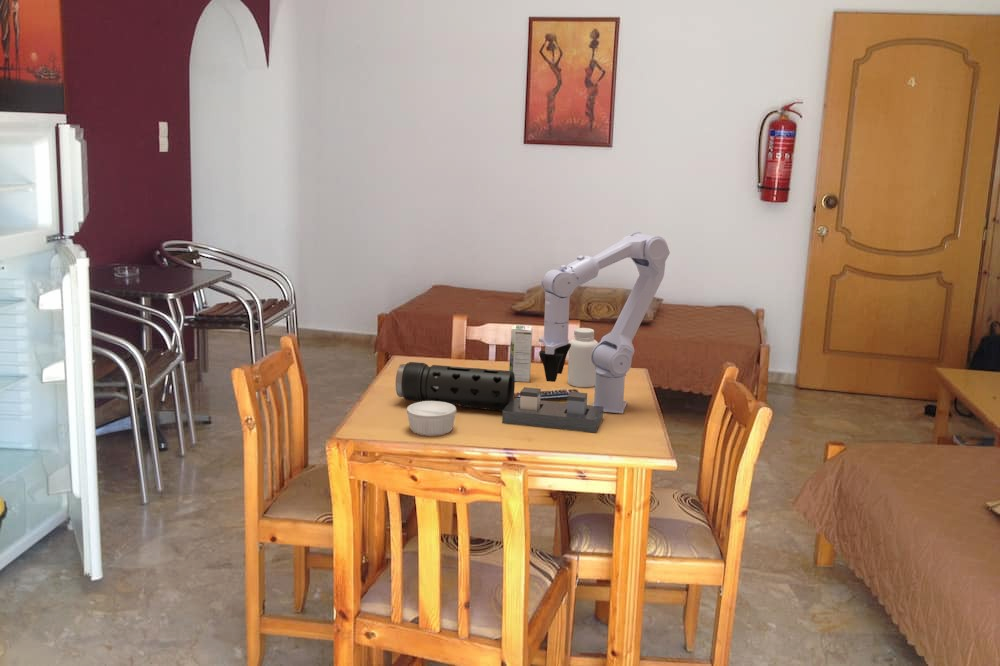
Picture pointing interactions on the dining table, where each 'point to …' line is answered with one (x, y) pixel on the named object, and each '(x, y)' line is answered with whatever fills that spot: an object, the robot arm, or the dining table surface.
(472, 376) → the muzzle brake
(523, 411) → the block
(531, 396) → the plug
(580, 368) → the pill bottle
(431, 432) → the ramekin
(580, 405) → the twin plug
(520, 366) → the syrup box
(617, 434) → the dining table surface
